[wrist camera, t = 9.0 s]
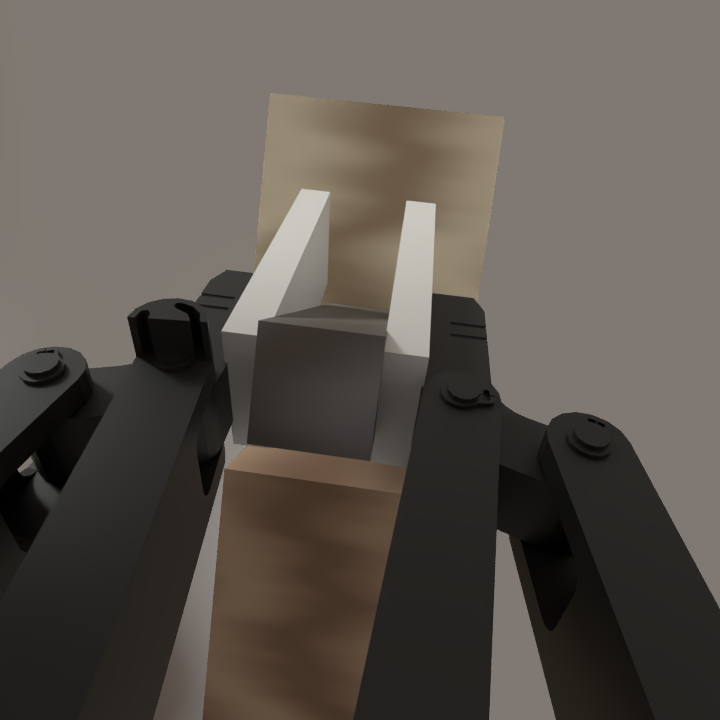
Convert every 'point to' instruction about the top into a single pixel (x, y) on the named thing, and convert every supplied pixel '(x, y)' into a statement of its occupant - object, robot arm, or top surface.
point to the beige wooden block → (361, 253)
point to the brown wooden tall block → (297, 583)
